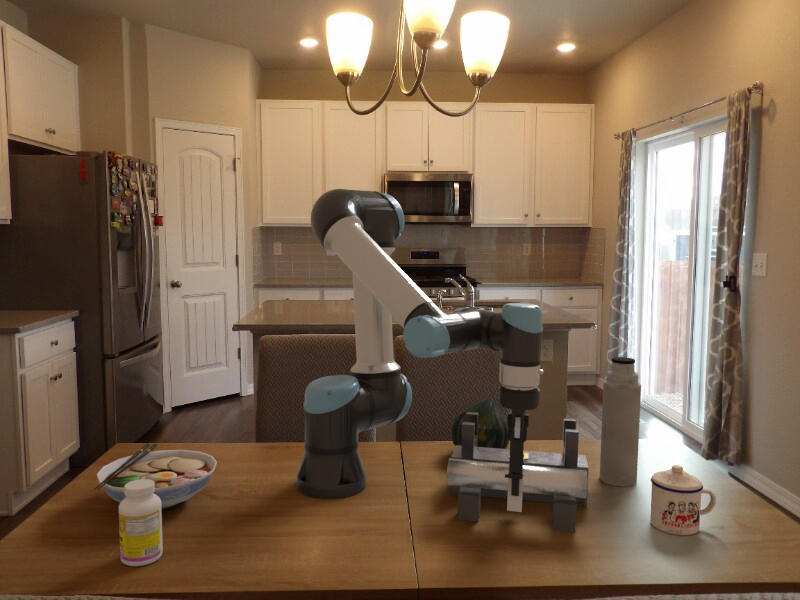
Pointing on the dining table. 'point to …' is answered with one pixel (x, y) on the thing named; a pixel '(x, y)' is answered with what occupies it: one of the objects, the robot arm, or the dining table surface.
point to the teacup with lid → (678, 501)
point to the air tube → (533, 478)
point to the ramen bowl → (159, 473)
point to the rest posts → (561, 508)
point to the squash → (484, 425)
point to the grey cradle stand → (534, 458)
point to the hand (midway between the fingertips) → (514, 504)
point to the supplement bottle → (140, 524)
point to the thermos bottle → (620, 424)
